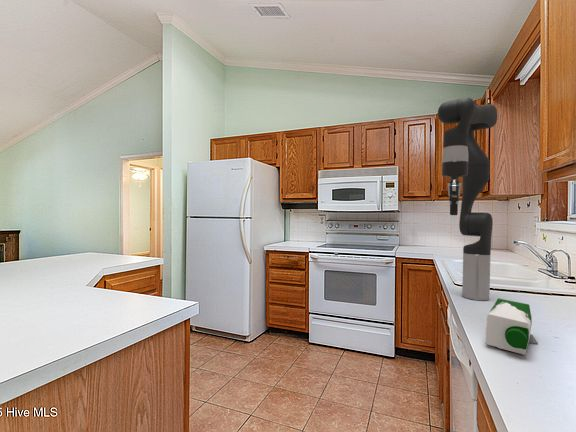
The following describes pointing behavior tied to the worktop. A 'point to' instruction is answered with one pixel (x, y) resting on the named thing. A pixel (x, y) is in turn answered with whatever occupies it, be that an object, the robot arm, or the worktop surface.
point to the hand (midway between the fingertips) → (453, 215)
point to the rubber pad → (532, 340)
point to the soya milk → (509, 326)
